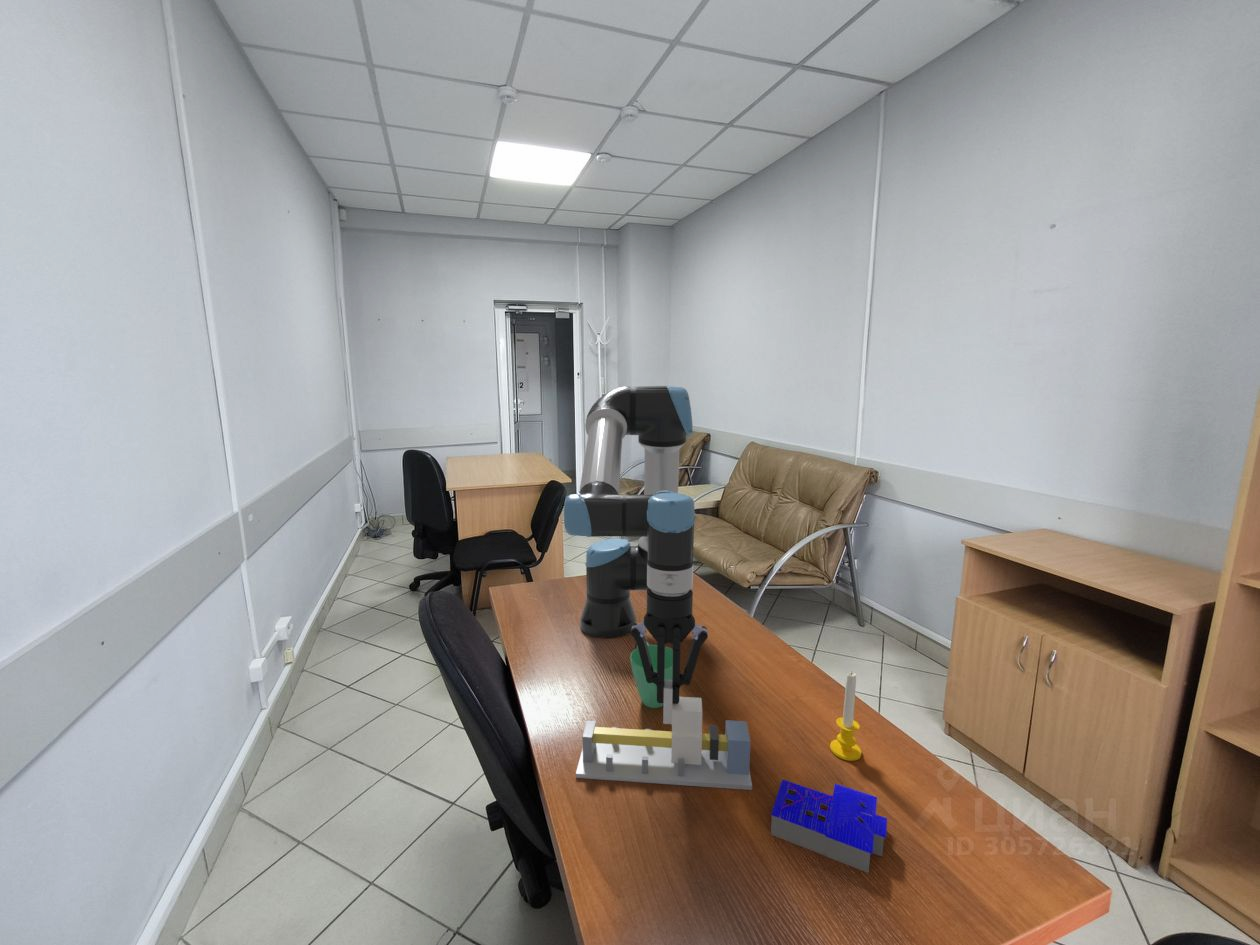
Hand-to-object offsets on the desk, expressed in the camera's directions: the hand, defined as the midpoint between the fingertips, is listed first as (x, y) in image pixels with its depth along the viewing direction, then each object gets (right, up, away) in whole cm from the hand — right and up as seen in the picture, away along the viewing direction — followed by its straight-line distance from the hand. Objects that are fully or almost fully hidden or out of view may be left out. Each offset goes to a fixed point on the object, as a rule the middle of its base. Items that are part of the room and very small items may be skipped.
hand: (667, 718), depth 91 cm
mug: (-2, -5, +22) cm, 22 cm away
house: (+23, -11, -12) cm, 28 cm away
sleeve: (+3, -6, +1) cm, 7 cm away
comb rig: (-1, -8, +2) cm, 8 cm away
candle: (+32, -8, +4) cm, 34 cm away
